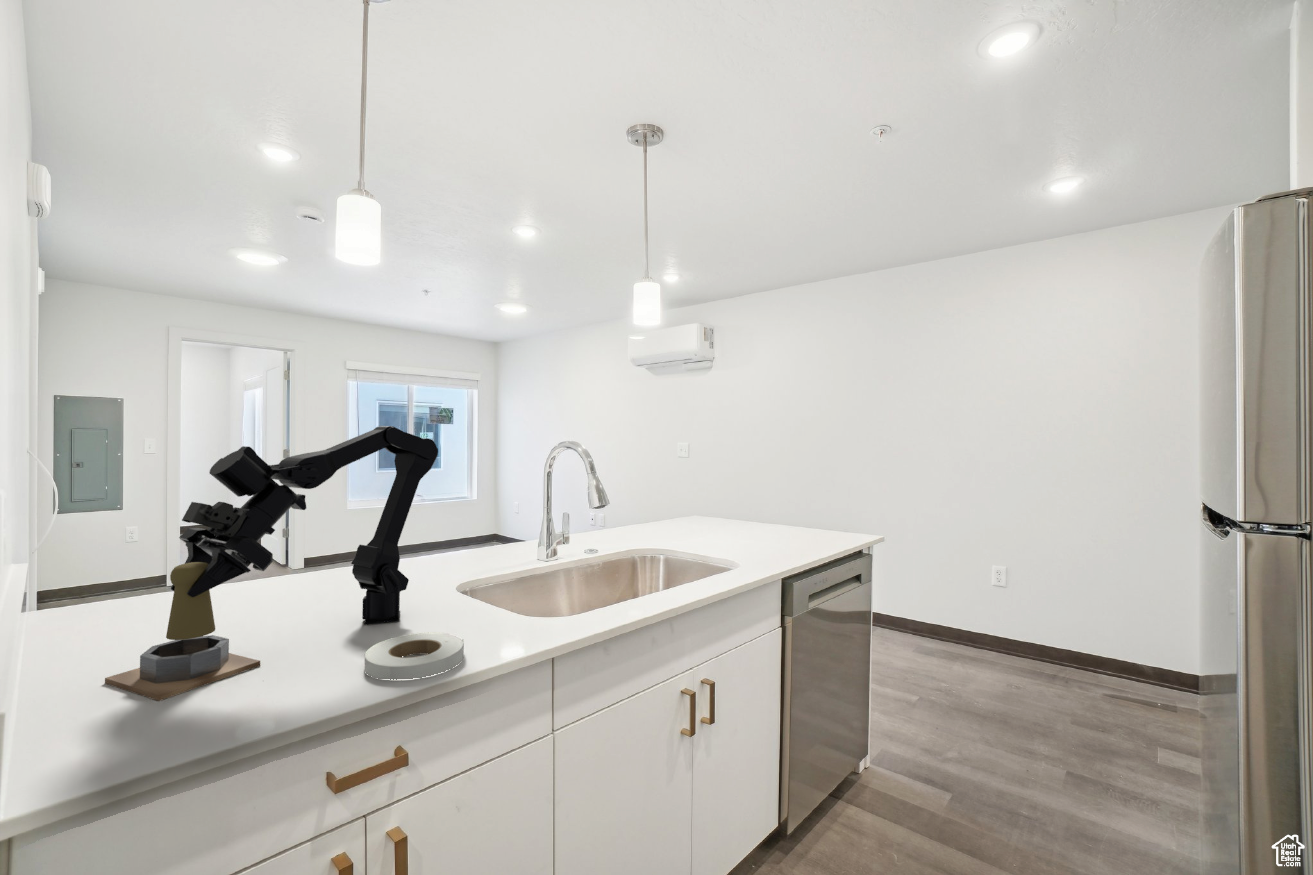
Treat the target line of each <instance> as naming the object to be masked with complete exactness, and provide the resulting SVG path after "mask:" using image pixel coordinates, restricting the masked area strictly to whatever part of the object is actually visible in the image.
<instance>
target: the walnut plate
mask: <svg viewBox="0 0 1313 875" xmlns="http://www.w3.org/2000/svg"><path fill="white" fill-rule="evenodd" d="M257 667H261V660H258V659H254V658H251V657H247V656H243V655H239V654H236V653H235V654H234V653H232V652H231V653H230V652H229V657H228V661H227V662H226V663H225V665H224V666H223V667H222V668H221V669H220V670H217V671H214V672H211V673H208V674H205V675H202V676H199V677H196V678H193V679H190V680H182V681H174V682H165V683H157V684H155V683H152V682H149V681H146V680H142V679H140V667H138V668H134V669H131V670H127V671H124V672H120V673H116V674H113V675H110V676H106V677H105V678H104V684H105V685H109V686H112V687H115V688H118V689H122V690H124V691H128V692H131V693H134V694H137V695H140V696H142V697H143V696H144V697H146V698H149V699H152V700H155V701H158V702H160V701H163V700H165V699H168V698H172V697H175V696H176V695H180V694H182V693H186V692H189V691H191V690H194V689H198V688H200V687H203V686H206V685H209V684H212V683H214V682H217V681H220V680H223V679H226V678H230V677H232V676H235V675H237V674H240V673H242V672H246V671H249V670H252V669H255V668H257Z"/></svg>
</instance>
